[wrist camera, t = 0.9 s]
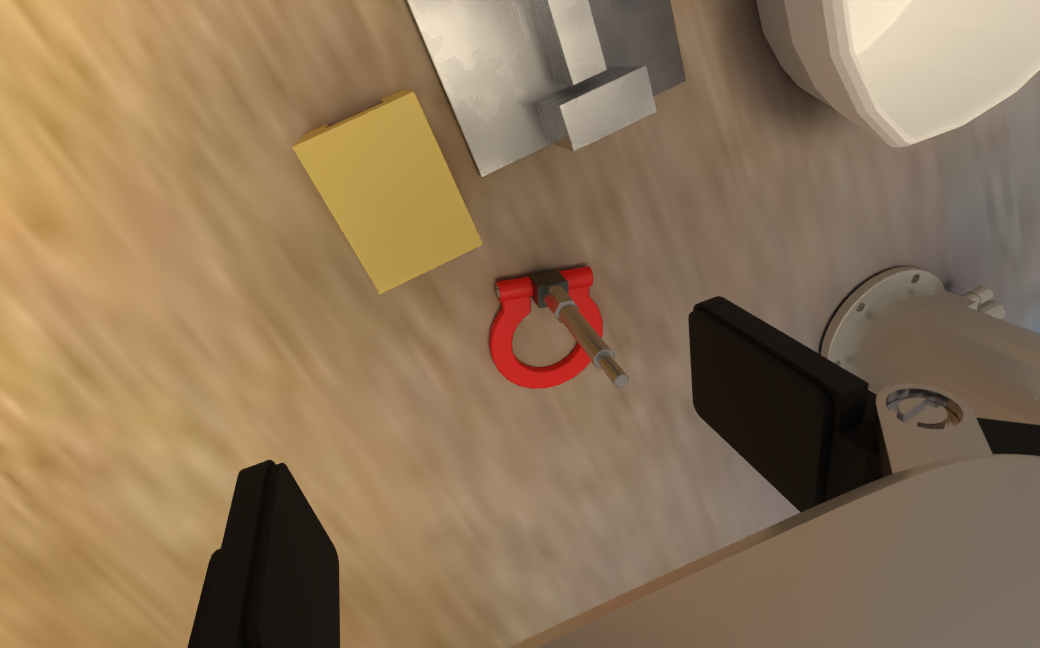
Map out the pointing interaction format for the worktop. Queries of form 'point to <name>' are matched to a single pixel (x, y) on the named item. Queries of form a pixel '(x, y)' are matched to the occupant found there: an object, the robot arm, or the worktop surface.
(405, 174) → the notched yellow block
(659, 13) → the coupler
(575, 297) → the tow hook
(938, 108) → the bowl
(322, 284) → the worktop surface
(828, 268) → the worktop surface
